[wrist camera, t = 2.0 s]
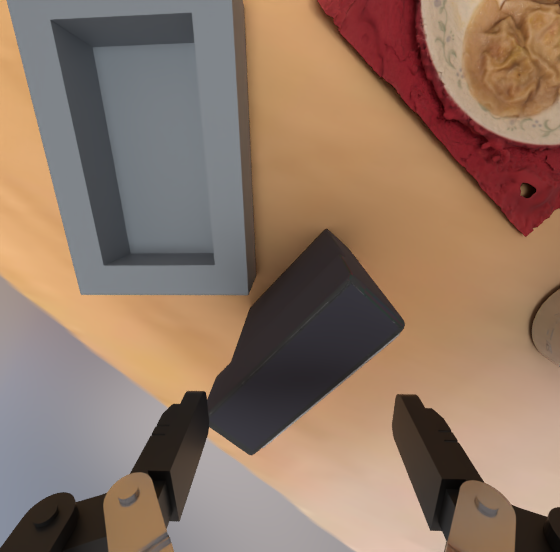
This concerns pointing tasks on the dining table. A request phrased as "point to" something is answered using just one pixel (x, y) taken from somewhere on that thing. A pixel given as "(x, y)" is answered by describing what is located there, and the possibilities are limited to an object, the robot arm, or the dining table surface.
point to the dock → (145, 140)
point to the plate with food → (474, 85)
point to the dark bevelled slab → (300, 344)
